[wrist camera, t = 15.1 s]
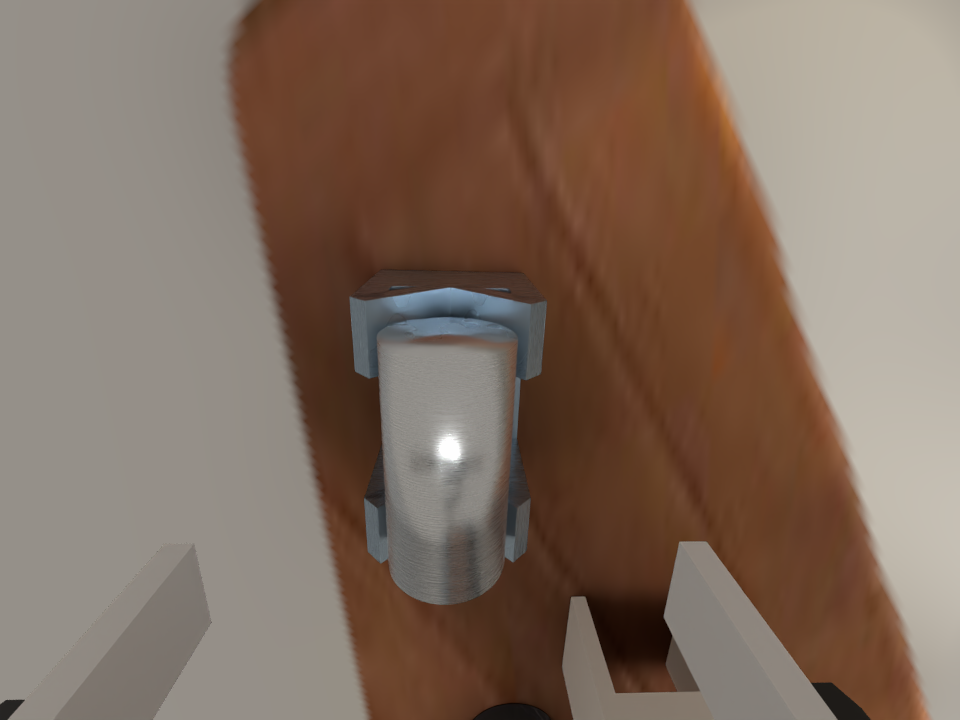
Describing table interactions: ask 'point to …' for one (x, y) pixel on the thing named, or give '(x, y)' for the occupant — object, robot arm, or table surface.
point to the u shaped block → (591, 692)
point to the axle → (446, 453)
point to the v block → (459, 297)
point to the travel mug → (513, 713)
